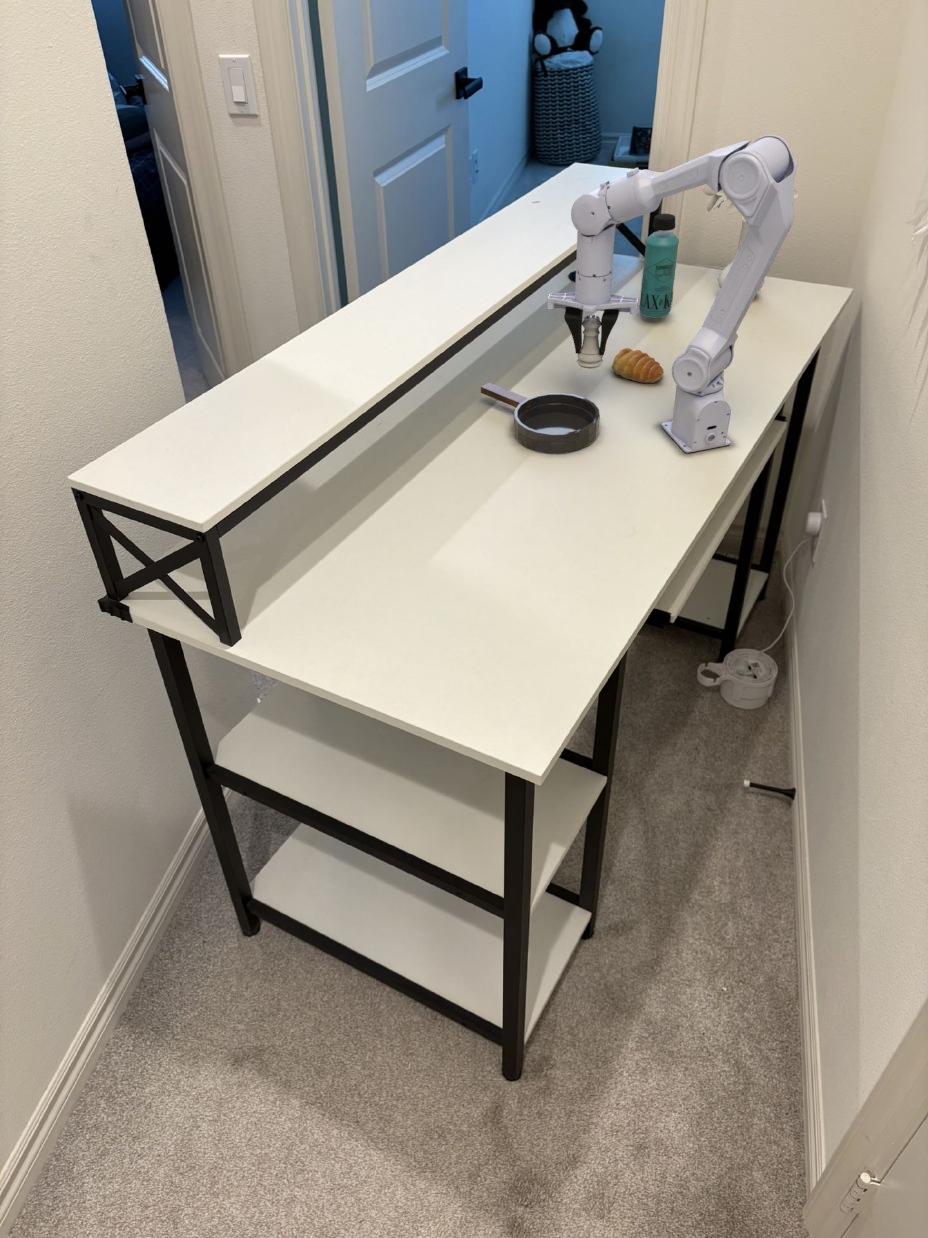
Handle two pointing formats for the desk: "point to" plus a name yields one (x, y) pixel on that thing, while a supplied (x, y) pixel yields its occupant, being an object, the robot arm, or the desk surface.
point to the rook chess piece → (590, 344)
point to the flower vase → (731, 209)
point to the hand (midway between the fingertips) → (590, 351)
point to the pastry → (637, 366)
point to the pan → (556, 422)
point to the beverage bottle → (659, 268)
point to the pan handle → (503, 395)
